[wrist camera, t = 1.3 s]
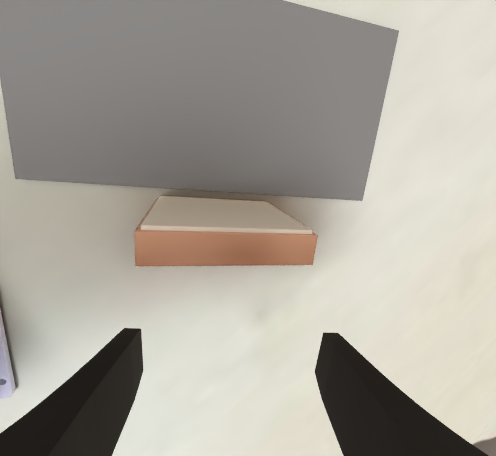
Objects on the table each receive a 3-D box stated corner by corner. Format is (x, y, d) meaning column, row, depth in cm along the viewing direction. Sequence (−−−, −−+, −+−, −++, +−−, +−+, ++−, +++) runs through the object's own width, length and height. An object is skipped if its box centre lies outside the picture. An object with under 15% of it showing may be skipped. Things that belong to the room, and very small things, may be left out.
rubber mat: (360, 200, 21) (362, 200, 21) (18, 178, 15) (15, 178, 15) (395, 32, 18) (398, 30, 17) (-19, -75, 12) (-24, -80, 12)
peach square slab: (265, 222, 20) (312, 264, 12) (158, 218, 18) (135, 266, 10) (267, 201, 19) (318, 231, 12) (157, 195, 17) (134, 226, 10)
